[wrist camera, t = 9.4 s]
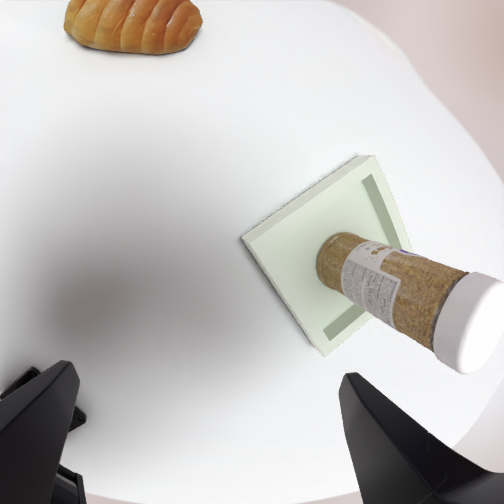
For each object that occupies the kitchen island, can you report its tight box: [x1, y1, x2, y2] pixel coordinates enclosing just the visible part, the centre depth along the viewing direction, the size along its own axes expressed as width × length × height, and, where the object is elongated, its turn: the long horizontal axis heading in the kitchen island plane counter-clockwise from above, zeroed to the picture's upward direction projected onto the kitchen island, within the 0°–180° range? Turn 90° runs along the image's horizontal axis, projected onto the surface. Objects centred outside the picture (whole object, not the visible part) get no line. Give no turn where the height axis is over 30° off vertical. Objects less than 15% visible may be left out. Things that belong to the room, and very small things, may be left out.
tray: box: [241, 155, 413, 357], centre depth 22 cm, size 11×11×2 cm
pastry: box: [64, 0, 203, 55], centre depth 13 cm, size 9×7×4 cm
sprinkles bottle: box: [317, 232, 504, 374], centre depth 16 cm, size 5×5×14 cm
